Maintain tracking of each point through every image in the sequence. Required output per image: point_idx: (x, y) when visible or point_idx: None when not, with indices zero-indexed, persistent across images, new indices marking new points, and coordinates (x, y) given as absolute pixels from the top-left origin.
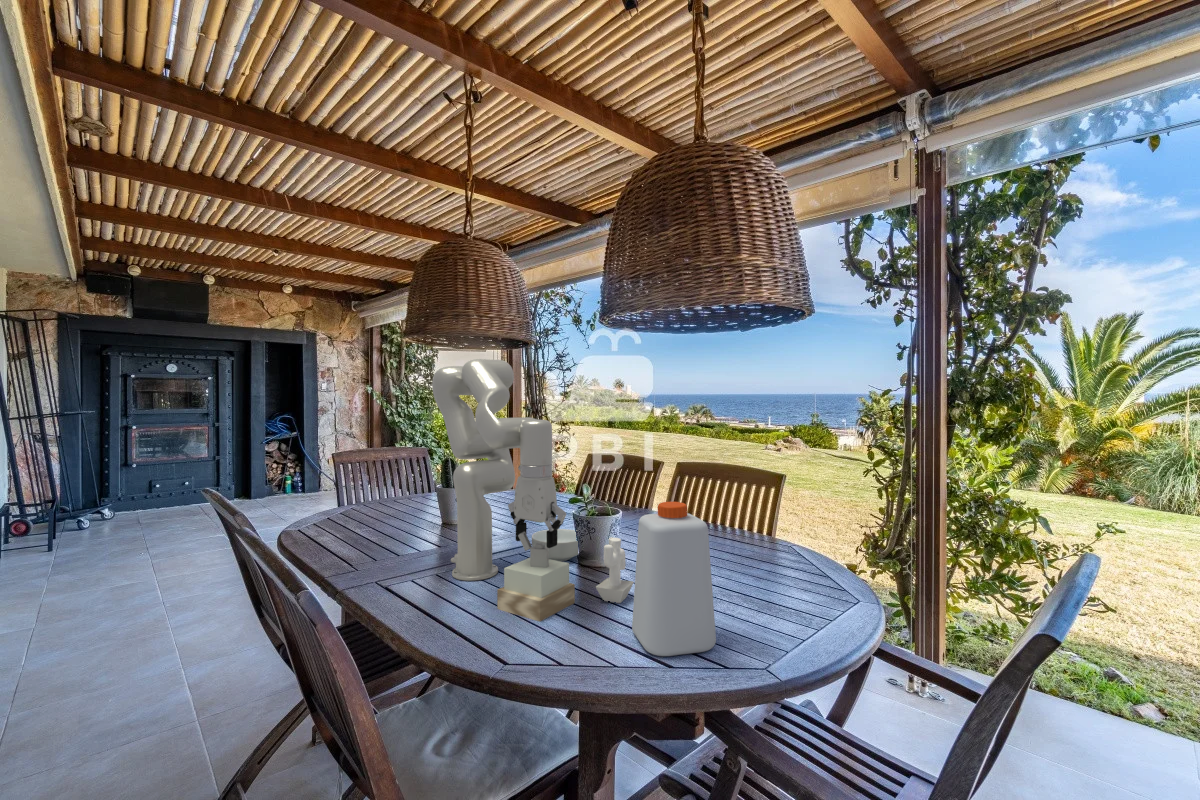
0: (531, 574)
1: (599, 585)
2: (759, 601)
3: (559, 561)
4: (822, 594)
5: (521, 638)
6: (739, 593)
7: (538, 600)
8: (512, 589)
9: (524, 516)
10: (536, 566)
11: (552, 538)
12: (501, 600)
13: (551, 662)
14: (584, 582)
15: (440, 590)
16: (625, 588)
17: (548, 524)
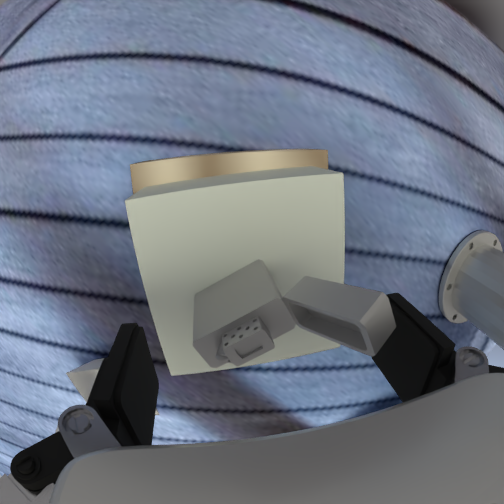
0: (181, 191)
1: None
2: (7, 438)
3: (214, 369)
4: (4, 464)
5: (112, 66)
6: None
7: (137, 166)
8: (276, 169)
9: (408, 429)
10: (235, 273)
11: (99, 376)
12: (299, 149)
13: (5, 59)
14: (246, 398)
15: (474, 165)
16: (76, 387)
17: (89, 450)
